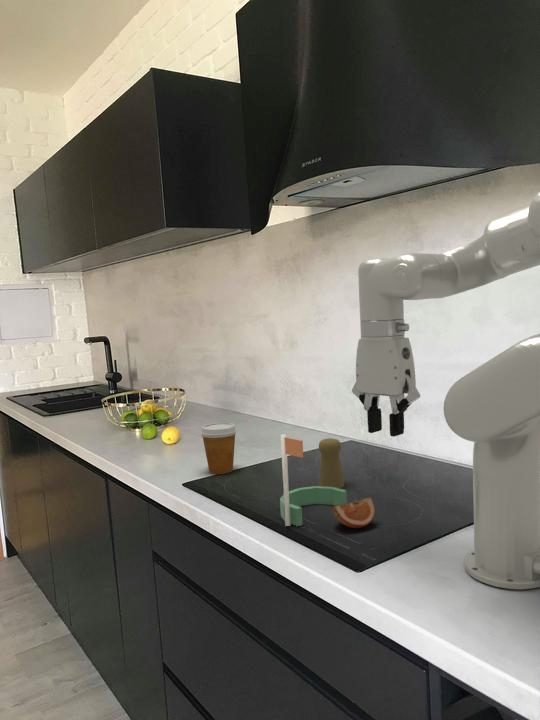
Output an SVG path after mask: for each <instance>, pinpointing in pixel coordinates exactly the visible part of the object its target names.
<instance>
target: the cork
mask: <svg viewBox="0 0 540 720" xmlns="http://www.w3.org/2000/svg"><path fill="white" fill-rule="evenodd" d="M318 443H319V444H318V450H319V452H320V454H321V455H320V466H319V475H318V476H319V478H318V486H323V487H335V488H339V489H342V488H344V486H345V480H344V475H343V474H344V473H343V469H342V463H341V457H340V452H341V450H342V443H341V441H340V440H339V439H337V438H331V437H330V438H324V439H321V440H320V442H318Z"/></svg>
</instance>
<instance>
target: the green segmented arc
mask: <svg viewBox="0 0 540 720" xmlns="http://www.w3.org/2000/svg"><path fill="white" fill-rule="evenodd" d="M303 445H304V443H303V440H301V439H297V438H292V437H287V435H286V434H284V433H283V434H280V447H281V448H280V449H281V467H282V482H283V494H282V496H281V497H280V498H279V506H280V507H279V508H280V510H279V511H280V516H281V518H282V520H283V521H284V524H285V525H284V526H285V527H286V526H290V527H291V525H292V524H293V526H295V525H296V526H295V527H298V526H299V527H300V526H303V510H302V509H303V507H302V506H310V505H327V506H328V505H329V506H330V505H332V506H333V507H334V506H338V505H343V504H348V500H347V499H348V495H347V493H348V492H347V490H346V489H342V488H335V487H323V486H319V485H316V486H306V487H299V488H295V489H292V490H289V487H290V486H289V471H288V470H289V469H288V467H289V466H288V455H289V456H293V457H298V458H304V446H303Z"/></svg>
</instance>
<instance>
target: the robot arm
mask: <svg viewBox="0 0 540 720" xmlns="http://www.w3.org/2000/svg"><path fill="white" fill-rule="evenodd" d="M538 266H540V191H538V192H537V193H536V195H535V196H534V198H533V199H532V201H531V202H530V204H528V205H527V206H524V207H521V208H518V209H516V210H514V211H511V212H507V213H506V214H503V215H501V216H498V217H496V218H493V219H491V220H490V221H489V222H487V224H486V225H485V227H484V230H483V234H482V235H481V236H480V237H478V238H477V239H475V240H473V241H471V242H469V243H466V244H464V245H462V246H458V247H456V248H454V249H451V250H448V251H445V252H442V253H423V252H422V253H419V252H418V253H416V252H411V253H409V252H408V253H402V254H400V255H396V256H393V257H389V258H388V257H387V258H385V257H383V258H372V259H367V260H364V261H362V262H360V264H359V265H358V269H357V270H358V273H357V274H358V294H359V296H358V297H359V299H358V301H359V321H360V322H359V323H360V325H359V326H360V338H359V339H358V341H357V347H356V357H355V383H354V385H353V387H352V389H351V393H352V394H353V395H355V397H356V398H358V399H359V401H360V402H361V404H362V405H363V409H364V410H365V411H366V412H367V413H366V415H367V432H368V433H369V434H374V433H377V432H380V431H382V429H383V425H382V424H383V423H382V421H383V420H382V409H381V408H379V404H380V396H381V397H382V396H383V397H389V404H390V408H391V412H392V413H390V414H389V435H390V436H391V437H397V436H400V435H404V432H405V412H407V410H408V409H409V407H411V405H412V403H414V402H416V401H417V400H419V399H420V398H421V394H420V392H419V390H418V388H417V385H416V384H417V383H416V382H417V381H416V371H415V369H416V368H415V361H414V355H413V350H412V349H413V348H412V345H411V341H410V338H409V337H405V333H406V332H408V331H410V325H409V323H405V315H404V308H405V307H404V300H405V301H417V300H418V301H419V300H427V299H428V300H430V299H443V298H447V297H451V296H454V295H458V294H461V293H464V292H467V291H470V290H473V289H477V288H479V287H482V286H485V285H489V284H491V283H493V282H495V281H498V280H501V279H504V278H506V277H508V276H510V275H511V276H512V275H514V274H516V273H519V272H523V271H526V270H529V269H532V268H534V267H538ZM405 394H407V396H405ZM443 415H444V416H443V417H444V419H445V421H446V424H447V426H448V427H449V429H450V430H451V431H452V432H453V433H454V434H455V435H457V436H458V437H460V438H461V439H463V440H466V441H469V442H472V443H473V450H472V452H473V453H472V489H473V490H472V491H473V536H474V539H473V541H474V542H473V543H474V544H473V545H474V547H473V548H474V550H473V551H470V552H469V553H468V554H467V555H466V556H465V557H464V561H463V562H464V569H465V571H466V573H467V574H468V575H469V576H471V577H472V578H473V579H475V580H477V581H479V582H480V583H484V584H485V585H488V586H492V587H496V588H501V589H508V590H530V589H532V590H533V589H536V588H540V333H537V334H534V335H532V336H529V337H526V338H524V339H522V340H519V341H518V342H517V343H515V344H512V345H511V346H510V347H508V348H507V349H505V350H504V351H502V352H500V353H499V354H497V355H495V356H494V357H492V358H491V359H489V360H488V361H487V360H486V362H484V363H482V364H481V365H479V366H478V367H476V368H475V369H473V370H471V371H470V372H469V373H466V374H465V375H463V376H462V377H460V378H459V379H458V380H456V381H455V382H454V383H453V384H452V385H451V386H450V388H449V389H448V392H447V393H446V395H445V398H444V402H443Z"/></svg>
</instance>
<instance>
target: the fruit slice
mask: <svg viewBox="0 0 540 720" xmlns="http://www.w3.org/2000/svg"><path fill="white" fill-rule="evenodd" d="M331 512H332V514H333V515H334V516H335V518H336V519H337V520H338V521H339V522H340V523H341V524H342V525H345V526H346V527H349V528H353V529H361V528H364V527H366V526H368V525H369V524H370V523H371V522H372V521H373V519H374V517H375V514H376V513H375V512H376V508H375V504H374V502H373V499H372V498H371V497H366V498H363V499H358V500H354V501H351V502H349V503H347V504H343V505H338V506H334V505H333V507H332V510H331Z"/></svg>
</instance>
